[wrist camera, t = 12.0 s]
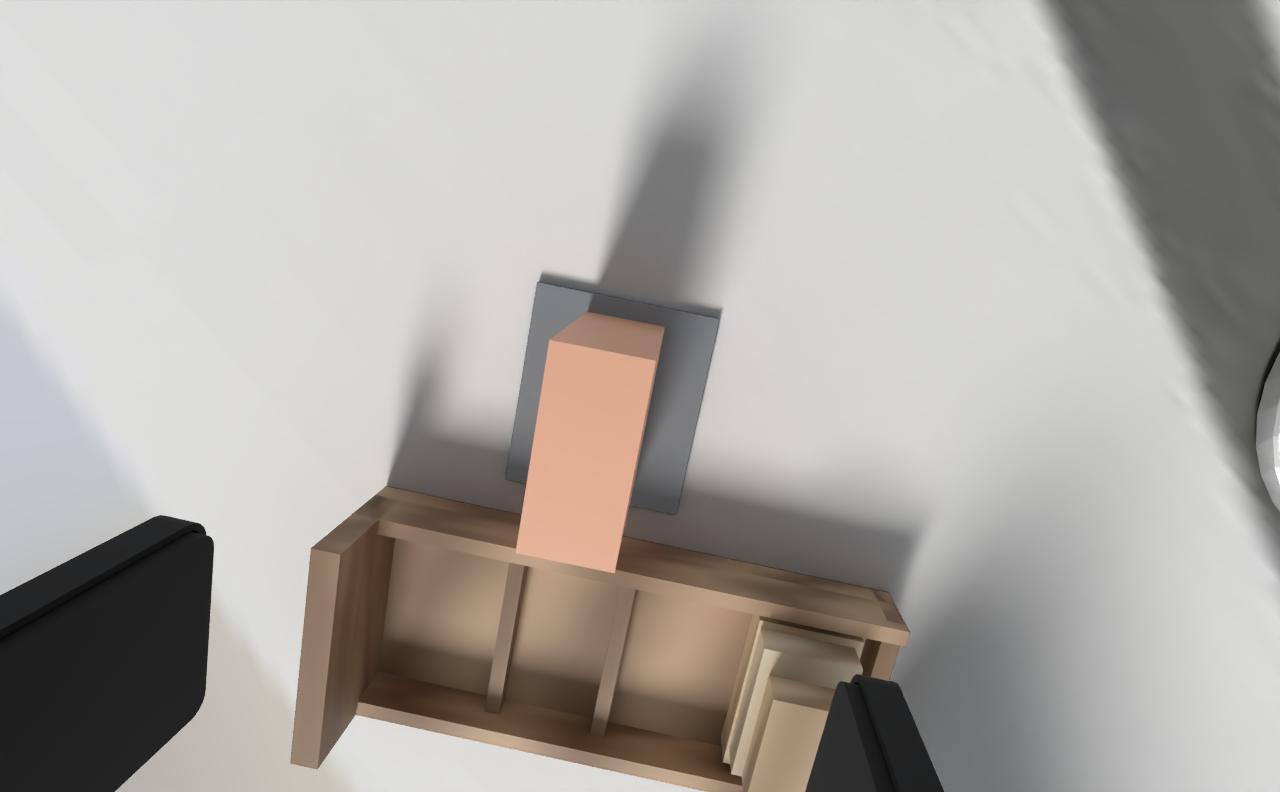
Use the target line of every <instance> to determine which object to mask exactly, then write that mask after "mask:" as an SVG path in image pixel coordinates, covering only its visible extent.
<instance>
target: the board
mask: <svg viewBox="0 0 1280 792" xmlns="http://www.w3.org/2000/svg"><path fill="white" fill-rule="evenodd" d="M664 329H665V327H664V326H658V325H653V324H648V323H643V322H638V321H633V320H628V319H623V318H617V317H612V316H607V315H602V314H597V313H592V312H586V313H585V314H583V315H582V316H581V317H579V318H578V319H577V320H575V321H574V322H573V323H571V324H570V325H569V326H567V327H566V328H565V329H563V330H562V331H561V332H559V333H558V334H557V335H555V336H554V337H553V338H551V339H550V340H549V345H548V351H547V358H546V364H545V370H544V377H543V383H542V389H541V396H540V402H539V408H538V415H537V421H536V427H535V433H534V440H533V446H532V452H531V459H530V465H529V471H528V478H527V484H526V490H525V497H524V503H523V509H522V515H521V522H520V528H519V534H518V541H517V547H516V553H517V554H522V555H527V556H532V557H537V558H542V559H547V560H552V561H557V562H562V563H567V564H571V565H576V566H581V567H586V568H591V569H596V570H601V571H606V572H611V573H615V569H616V564H617V560H618V555H619V551H620V546H621V542H622V537H623V533H624V528H625V524H626V519H627V515H628V510H629V506H630V501H631V497H632V492H633V488H634V483H635V478H636V472H637V467H638V462H639V457H640V452H641V447H642V442H643V437H644V432H645V426H646V421H647V416H648V411H649V406H650V401H651V396H652V391H653V385H654V380H655V375H656V370H657V365H658V360H659V355H660V350H661V345H662V339H663V334H664Z"/></svg>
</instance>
